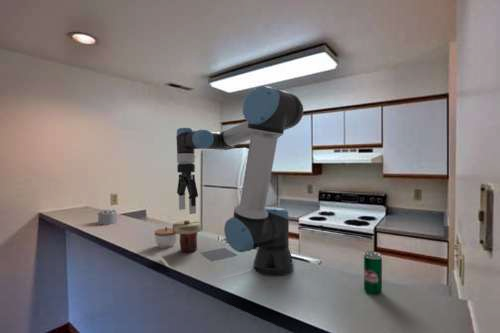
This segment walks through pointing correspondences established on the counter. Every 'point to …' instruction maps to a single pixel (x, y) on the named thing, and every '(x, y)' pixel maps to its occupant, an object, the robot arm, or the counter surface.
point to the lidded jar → (165, 237)
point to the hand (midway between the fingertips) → (187, 211)
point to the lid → (186, 227)
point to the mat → (218, 254)
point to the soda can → (373, 273)
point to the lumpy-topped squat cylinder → (107, 217)
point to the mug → (188, 242)
